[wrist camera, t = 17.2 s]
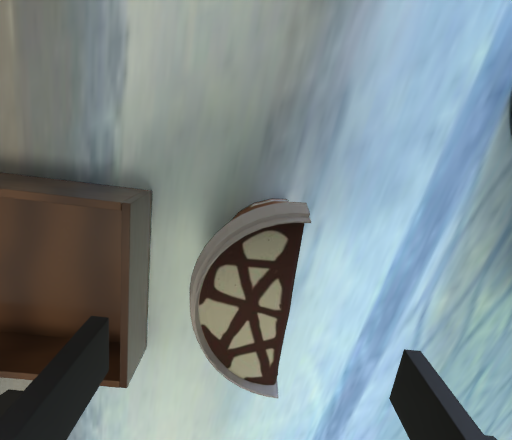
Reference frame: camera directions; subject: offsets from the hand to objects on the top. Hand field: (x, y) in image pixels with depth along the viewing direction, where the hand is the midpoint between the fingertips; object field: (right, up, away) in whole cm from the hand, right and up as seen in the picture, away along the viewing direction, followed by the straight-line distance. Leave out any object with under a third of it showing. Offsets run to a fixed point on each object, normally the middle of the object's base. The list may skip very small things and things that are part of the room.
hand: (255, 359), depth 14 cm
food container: (-1, +4, +13) cm, 14 cm away
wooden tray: (-20, +3, +13) cm, 24 cm away
